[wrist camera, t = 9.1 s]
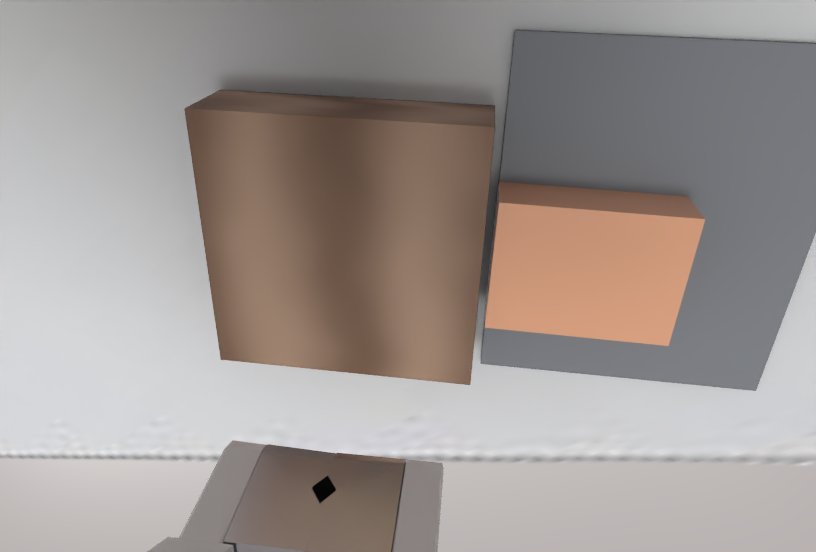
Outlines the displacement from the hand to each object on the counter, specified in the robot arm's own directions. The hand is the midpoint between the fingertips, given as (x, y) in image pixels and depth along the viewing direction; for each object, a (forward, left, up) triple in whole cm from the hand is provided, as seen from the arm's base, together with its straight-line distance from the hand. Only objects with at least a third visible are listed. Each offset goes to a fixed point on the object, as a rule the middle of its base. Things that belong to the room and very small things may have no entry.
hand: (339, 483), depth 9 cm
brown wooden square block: (-4, -5, -20) cm, 21 cm away
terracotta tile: (+7, -5, -20) cm, 22 cm away
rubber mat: (+9, -4, -20) cm, 23 cm away
